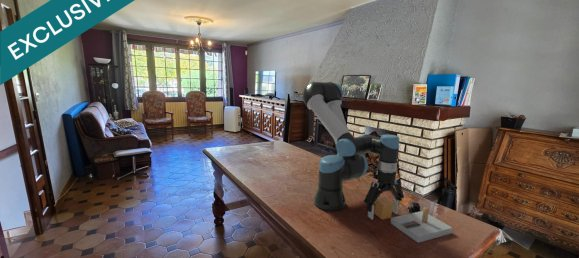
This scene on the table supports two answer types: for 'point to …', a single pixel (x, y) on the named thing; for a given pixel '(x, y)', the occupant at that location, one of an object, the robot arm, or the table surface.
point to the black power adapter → (414, 208)
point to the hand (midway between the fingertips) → (382, 215)
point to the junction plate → (421, 225)
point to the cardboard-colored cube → (383, 208)
